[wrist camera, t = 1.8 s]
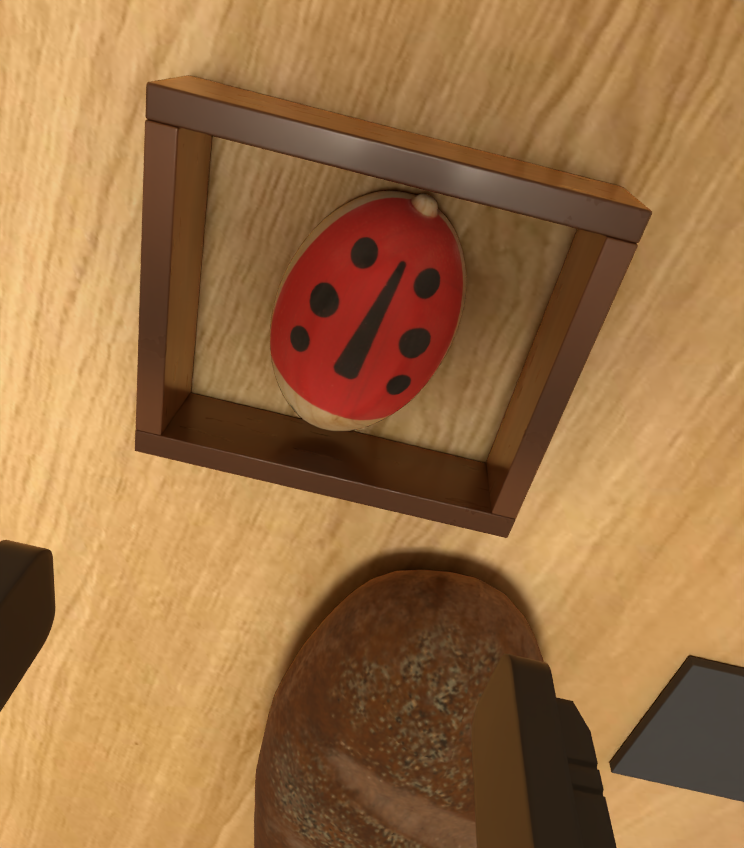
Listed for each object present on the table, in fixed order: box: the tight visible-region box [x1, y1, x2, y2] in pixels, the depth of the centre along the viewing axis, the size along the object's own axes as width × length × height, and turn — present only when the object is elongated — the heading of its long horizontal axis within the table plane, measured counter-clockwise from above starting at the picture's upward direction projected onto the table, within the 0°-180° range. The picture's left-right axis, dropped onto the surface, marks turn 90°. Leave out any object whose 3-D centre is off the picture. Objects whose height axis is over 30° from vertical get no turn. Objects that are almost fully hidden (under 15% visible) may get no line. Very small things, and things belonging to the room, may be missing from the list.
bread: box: [254, 570, 543, 848], centre depth 37 cm, size 16×36×8 cm, turn 173°
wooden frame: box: [135, 75, 652, 538], centre depth 23 cm, size 13×15×4 cm
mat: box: [610, 656, 744, 802], centre depth 35 cm, size 10×10×1 cm
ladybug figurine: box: [270, 191, 466, 431], centre depth 23 cm, size 7×10×4 cm
